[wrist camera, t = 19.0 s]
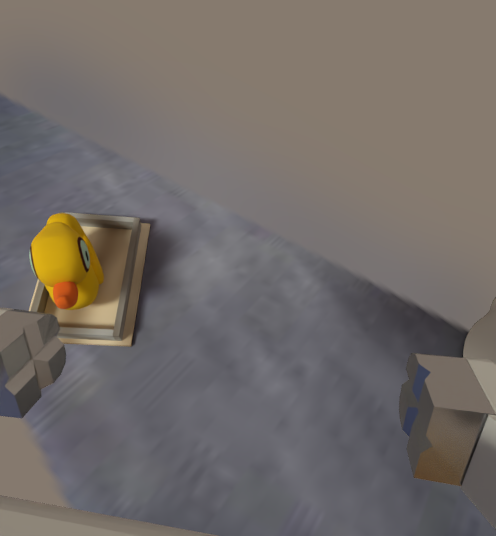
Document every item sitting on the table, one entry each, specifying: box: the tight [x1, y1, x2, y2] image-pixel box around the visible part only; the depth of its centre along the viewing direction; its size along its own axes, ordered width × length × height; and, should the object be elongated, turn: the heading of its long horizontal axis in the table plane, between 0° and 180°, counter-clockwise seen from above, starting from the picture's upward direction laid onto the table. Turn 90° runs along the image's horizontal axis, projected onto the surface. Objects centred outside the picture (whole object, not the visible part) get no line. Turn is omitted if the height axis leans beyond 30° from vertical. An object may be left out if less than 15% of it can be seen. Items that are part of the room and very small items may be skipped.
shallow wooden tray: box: [29, 212, 150, 347], centre depth 41 cm, size 10×14×2 cm
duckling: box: [30, 213, 104, 310], centre depth 36 cm, size 11×5×10 cm, turn 17°
